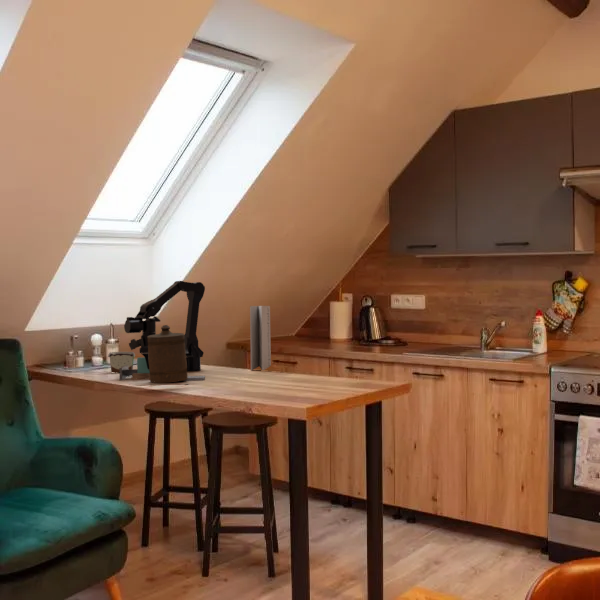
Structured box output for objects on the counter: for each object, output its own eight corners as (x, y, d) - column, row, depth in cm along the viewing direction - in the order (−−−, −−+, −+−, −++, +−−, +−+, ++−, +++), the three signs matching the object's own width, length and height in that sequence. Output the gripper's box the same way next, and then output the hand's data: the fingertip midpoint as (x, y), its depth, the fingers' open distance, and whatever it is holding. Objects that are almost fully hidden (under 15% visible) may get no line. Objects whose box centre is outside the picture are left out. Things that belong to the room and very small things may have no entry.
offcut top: (162, 376, 331) (162, 372, 331) (161, 377, 328) (161, 373, 328) (133, 377, 330) (133, 373, 330) (132, 377, 327) (132, 374, 327)
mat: (205, 378, 329) (205, 375, 329) (204, 380, 319) (204, 377, 319) (176, 378, 328) (176, 376, 328) (174, 380, 318) (174, 378, 318)
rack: (176, 375, 346) (176, 363, 346) (173, 379, 326) (173, 366, 327) (126, 376, 345) (126, 364, 345) (119, 380, 325) (119, 368, 325)
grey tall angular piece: (263, 374, 341) (262, 305, 341) (250, 374, 342) (249, 305, 343) (270, 372, 355) (270, 305, 355) (259, 372, 356) (258, 306, 356)
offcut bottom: (163, 380, 331) (163, 376, 331) (162, 380, 328) (162, 377, 328) (132, 380, 330) (132, 376, 330) (131, 381, 327) (131, 377, 327)
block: (161, 373, 339) (161, 357, 340) (161, 373, 336) (160, 357, 337) (138, 373, 339) (138, 357, 339) (137, 374, 336) (137, 357, 336)
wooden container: (172, 375, 325) (168, 322, 323) (195, 378, 315) (191, 323, 313) (142, 381, 314) (138, 326, 312) (165, 384, 304) (161, 327, 302)
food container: (139, 373, 361) (138, 351, 361) (134, 374, 355) (134, 352, 355) (112, 373, 362) (112, 351, 362) (108, 374, 356) (108, 352, 356)
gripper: (132, 332, 346) (133, 367, 346) (127, 333, 328) (127, 371, 328) (158, 331, 347) (158, 367, 347) (154, 333, 329) (154, 370, 329)
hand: (149, 368), depth 338 cm, fingers closed on block, 3 cm apart
